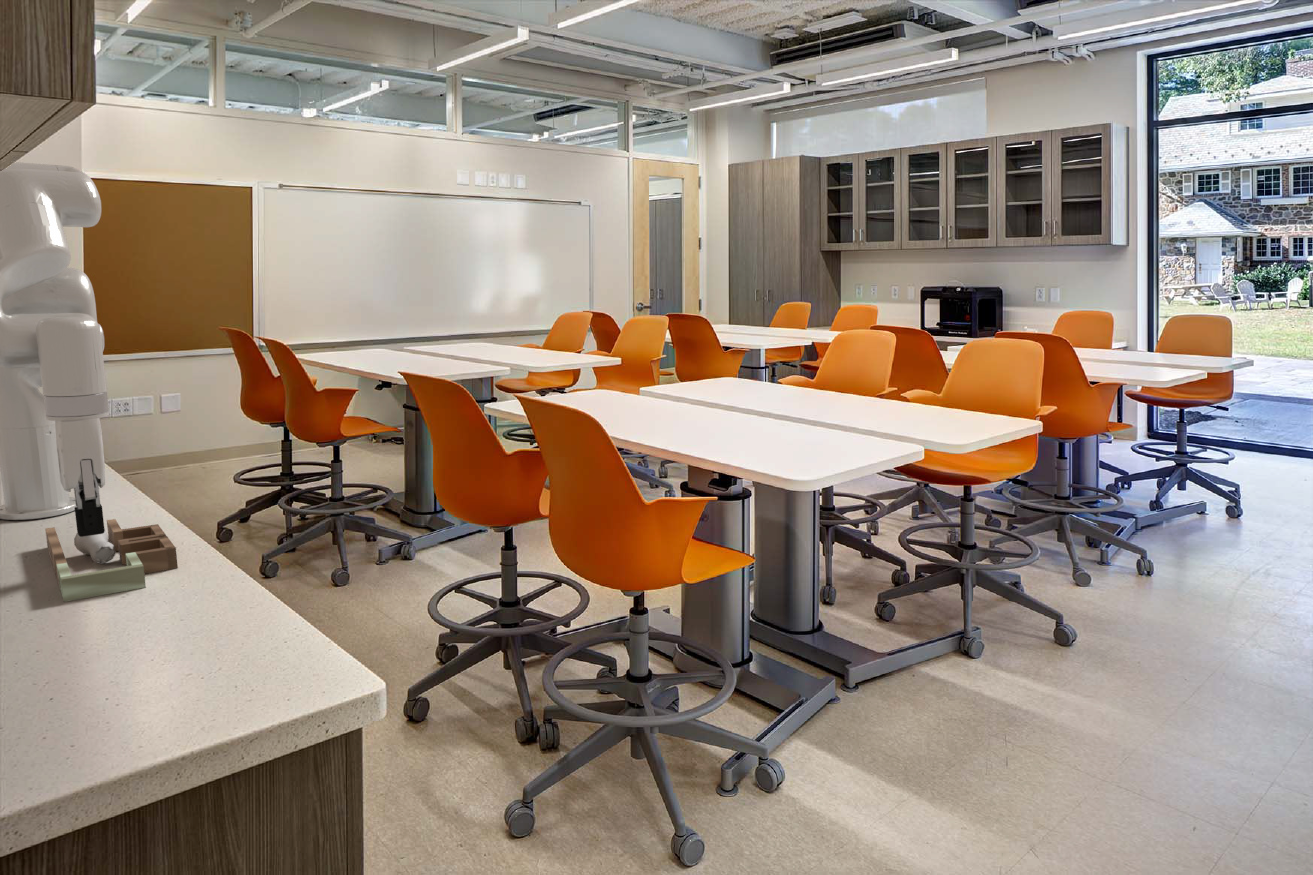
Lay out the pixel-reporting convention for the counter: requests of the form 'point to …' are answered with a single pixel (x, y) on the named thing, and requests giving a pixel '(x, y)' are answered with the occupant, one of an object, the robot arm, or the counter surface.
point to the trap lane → (136, 549)
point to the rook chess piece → (96, 547)
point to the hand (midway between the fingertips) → (91, 533)
